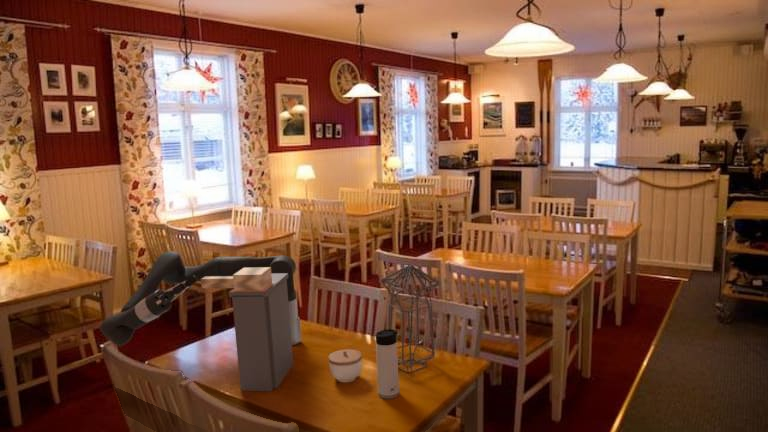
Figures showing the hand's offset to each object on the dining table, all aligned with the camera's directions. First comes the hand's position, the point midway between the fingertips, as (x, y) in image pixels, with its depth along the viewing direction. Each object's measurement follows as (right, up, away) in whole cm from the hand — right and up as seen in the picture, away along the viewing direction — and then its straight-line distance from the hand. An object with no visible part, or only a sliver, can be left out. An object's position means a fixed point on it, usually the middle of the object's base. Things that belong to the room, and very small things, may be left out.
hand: (190, 281), depth 189 cm
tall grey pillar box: (+25, -32, +3) cm, 40 cm away
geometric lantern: (+73, -29, +5) cm, 79 cm away
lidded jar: (+51, -31, -2) cm, 60 cm away
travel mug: (+65, -33, -14) cm, 74 cm away
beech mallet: (+16, -1, -6) cm, 18 cm away
